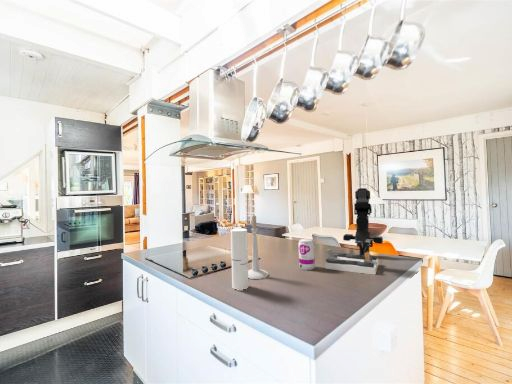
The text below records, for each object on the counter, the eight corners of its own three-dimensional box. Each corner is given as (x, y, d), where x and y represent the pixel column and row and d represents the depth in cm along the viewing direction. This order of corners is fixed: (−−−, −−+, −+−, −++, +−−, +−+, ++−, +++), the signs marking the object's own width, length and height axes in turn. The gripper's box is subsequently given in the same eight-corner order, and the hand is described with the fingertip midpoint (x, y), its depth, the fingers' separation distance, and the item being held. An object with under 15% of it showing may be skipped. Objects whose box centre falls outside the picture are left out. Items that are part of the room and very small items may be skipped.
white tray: (333, 260, 152) (333, 251, 152) (378, 265, 140) (378, 255, 140) (325, 268, 137) (325, 259, 137) (375, 274, 125) (374, 264, 125)
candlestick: (271, 272, 133) (269, 213, 133) (264, 280, 121) (262, 216, 121) (247, 270, 137) (246, 213, 137) (238, 278, 124) (237, 216, 124)
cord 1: (326, 261, 140) (326, 257, 140) (374, 266, 128) (374, 262, 128) (325, 262, 137) (325, 258, 137) (374, 268, 125) (373, 263, 125)
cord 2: (332, 255, 152) (332, 251, 152) (377, 259, 140) (376, 255, 140) (331, 256, 149) (331, 253, 149) (376, 260, 138) (376, 257, 138)
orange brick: (367, 261, 137) (365, 251, 137) (370, 260, 136) (368, 251, 136) (366, 263, 133) (364, 253, 133) (369, 263, 132) (367, 252, 133)
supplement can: (310, 271, 133) (310, 242, 133) (296, 268, 138) (295, 240, 138) (317, 267, 139) (316, 239, 139) (303, 265, 144) (302, 238, 144)
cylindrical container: (233, 284, 116) (231, 228, 116) (249, 284, 116) (247, 228, 116) (231, 290, 109) (229, 231, 109) (248, 290, 109) (246, 231, 109)
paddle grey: (333, 258, 145) (328, 249, 147) (335, 256, 145) (330, 248, 146) (331, 259, 142) (326, 251, 143) (333, 258, 141) (328, 250, 142)
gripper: (340, 225, 134) (341, 256, 134) (381, 228, 124) (381, 260, 124) (345, 223, 143) (345, 251, 143) (382, 225, 134) (383, 255, 134)
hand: (362, 255), depth 136 cm, fingers closed
